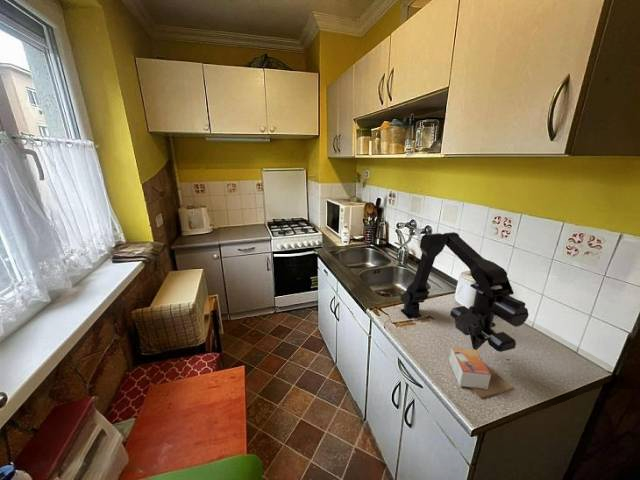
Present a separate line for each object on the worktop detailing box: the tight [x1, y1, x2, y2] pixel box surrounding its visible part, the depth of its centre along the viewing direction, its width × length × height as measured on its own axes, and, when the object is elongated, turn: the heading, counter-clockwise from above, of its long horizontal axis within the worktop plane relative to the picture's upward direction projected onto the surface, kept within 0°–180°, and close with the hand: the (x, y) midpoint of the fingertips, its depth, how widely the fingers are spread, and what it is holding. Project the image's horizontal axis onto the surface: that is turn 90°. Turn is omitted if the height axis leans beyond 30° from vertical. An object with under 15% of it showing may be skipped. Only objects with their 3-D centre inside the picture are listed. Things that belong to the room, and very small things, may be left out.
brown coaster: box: [469, 362, 514, 400], centre depth 80 cm, size 10×12×1 cm
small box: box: [448, 347, 491, 389], centre depth 81 cm, size 8×6×10 cm
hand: (475, 348), depth 82 cm, fingers closed
